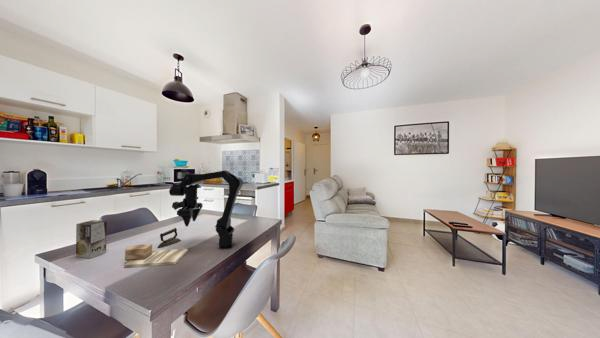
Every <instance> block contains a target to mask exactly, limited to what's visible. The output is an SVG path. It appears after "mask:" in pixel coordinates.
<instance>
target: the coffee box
mask: <svg viewBox="0 0 600 338" xmlns="http://www.w3.org/2000/svg"><path fill="white" fill-rule="evenodd" d="M107 224H108V221H107V220H97V219H95V220H94V219H93V220H88V221H83V222H80V223H76V224H75V227H76V230H75V231H76V232H75V238H76V239H75V242H76V244H75V257H76V258H83V259H92V258H95V257H98V256H101V255H103V254H106V253H107V237H108V236H107V234H108V233H107V231H108V229H107V226H108V225H107Z"/></svg>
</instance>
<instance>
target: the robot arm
mask: <svg viewBox="0 0 600 338" xmlns="http://www.w3.org/2000/svg"><path fill="white" fill-rule="evenodd" d="M220 178H222V179H223V180H224V181H225V182H226V183H227V184H228V190H229V192H228V196H227V200H226V202H225V206H224V209H223V213H222V217H219V218H218V219H217V220H216V225H215V226H214V228H215V232H216V233H217V234H218V237H219V238H218V246H219V247H218V249H231V248H232V247H233V245H234V232H235V228H234V227H233V226H232V225H231V224H232V218H231V217H232V215H233V211H234V207H235V203H236V199H237V196H238V194H239V192H240V191H241V189H242V187H243V185H244V181H243V179H242V178H241V177H237V176H236V175H234V174H232V173H231V172H230V171H228V170H221V171H220V170H219V171H214V172H206V173H187V174H184V176H183V179H182V181H181V182H180V183H172V184H171V187H170V188H169V191H168V192H169V195H170V196H173V197H178V196H179V197H183V196H184V198H183V199H182V201H174V202H172V205H171V208H172V209H174V211H176V210H177V211H176V216H179V217H181V218H182V220H183V222H184V226H185V227H189V224H190V222H191V220H192V222H196V220H197V218H198V216H199V215H200V212H201V211H202V208H203V203H202V202H198V199H199V196H198V189H200V188H202V186H201V185H200V184H199V183H201V182H204V181H208V180H215V179H220Z"/></svg>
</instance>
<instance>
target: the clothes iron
mask: <svg viewBox="0 0 600 338" xmlns="http://www.w3.org/2000/svg"><path fill="white" fill-rule="evenodd" d="M177 231H178V230H177V228H176V227H174V228H173V229H170V230H168V231H166V232H163V233H160V234H159V236H160V237H159V238H160V241H161V242H160V243H159V245H158V246H157V249H161V248H165V247H168V246H169V247H170V246H172V245H175V244H177V243H180V242H182V240H181V239H180V238H177V237H178V232H177ZM172 233H174V236H173V237H169V238H167V239H164V237H165V236H168V235H170V234H172Z"/></svg>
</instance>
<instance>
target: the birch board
mask: <svg viewBox="0 0 600 338" xmlns="http://www.w3.org/2000/svg"><path fill="white" fill-rule="evenodd" d="M188 251H189V248H176V249H160V250H152V255H151V256H149V257H148V258H146V259H145V260H130V261H127V263H125V264H124V265H123V269H126V268H139V267H140V268H141V267H142V268H144V267H154V266H167V265H169V266H170V265H176V264H177V262H179V261H180V260H181V259H182V258H183V257H184V256H185V255H186V254H187V252H188Z"/></svg>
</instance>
